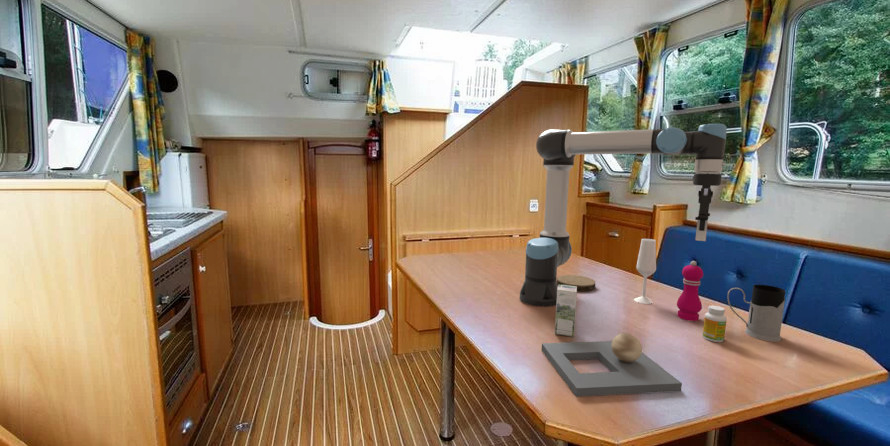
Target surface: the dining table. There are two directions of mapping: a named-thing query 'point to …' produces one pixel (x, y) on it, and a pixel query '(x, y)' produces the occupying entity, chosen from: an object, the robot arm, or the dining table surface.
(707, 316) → the supplement bottle
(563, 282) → the wood slice
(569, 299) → the syrup box
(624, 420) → the dining table surface
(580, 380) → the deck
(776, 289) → the glass holder
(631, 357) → the tan round lump
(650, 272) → the champagne flute
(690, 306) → the pepper mill
